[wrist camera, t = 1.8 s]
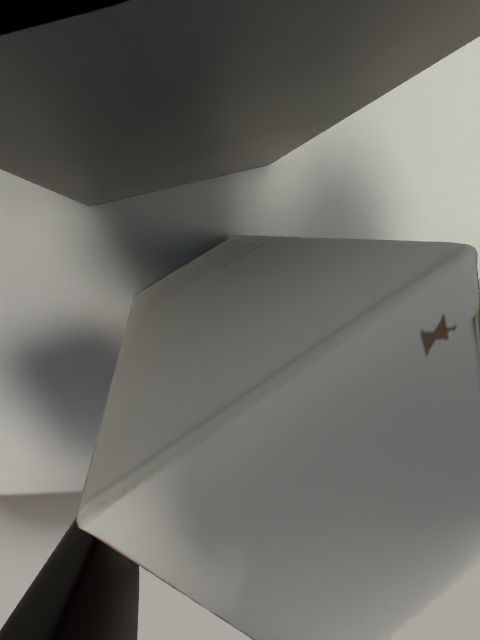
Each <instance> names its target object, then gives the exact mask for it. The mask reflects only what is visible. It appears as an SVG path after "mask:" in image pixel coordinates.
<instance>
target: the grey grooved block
mask: <svg viewBox="0 0 480 640" xmlns="http://www.w3.org/2000/svg"><path fill="white" fill-rule="evenodd" d="M479 36H480V0H0V169H1V170H4V171H6V172H9V173H11V174H13V175H16V176H18V177H20V178H23V179H25V180H28V181H30V182H32V183H35V184H37V185H40V186H42V187H44V188H47V189H49V190H51V191H54V192H56V193H59V194H61V195H63V196H66V197H68V198H71V199H73V200H75V201H78V202H80V203H82V204H85V205H87V206H92V205H96V204H101V203H105V202H110V201H114V200H118V199H123V198H127V197H131V196H136V195H140V194H144V193H149V192H153V191H157V190H162V189H166V188H170V187H175V186H179V185H183V184H188V183H192V182H197V181H201V180H205V179H210V178H214V177H218V176H223V175H227V174H231V173H236V172H240V171H244V170H249V169H253V168H257V167H262V166H266V165H270V164H271V163H273V162H274V161H276V160H278V159H279V158H281V157H283V156H284V155H286V154H288V153H289V152H291V151H292V150H294V149H296V148H297V147H299V146H301V145H302V144H304V143H306V142H307V141H309V140H310V139H312V138H314V137H315V136H317V135H319V134H320V133H322V132H324V131H325V130H327V129H328V128H330V127H332V126H333V125H335V124H337V123H338V122H340V121H341V120H343V119H345V118H346V117H348V116H350V115H351V114H353V113H355V112H356V111H358V110H359V109H361V108H363V107H364V106H366V105H368V104H369V103H371V102H373V101H374V100H376V99H377V98H379V97H381V96H382V95H384V94H386V93H387V92H389V91H391V90H392V89H394V88H395V87H397V86H399V85H400V84H402V83H404V82H405V81H407V80H409V79H410V78H412V77H413V76H415V75H417V74H418V73H420V72H422V71H423V70H425V69H427V68H428V67H430V66H431V65H433V64H435V63H436V62H438V61H440V60H441V59H443V58H445V57H446V56H448V55H449V54H451V53H453V52H454V51H456V50H458V49H459V48H461V47H463V46H464V45H466V44H467V43H469V42H471V41H472V40H474V39H476V38H477V37H479Z"/></svg>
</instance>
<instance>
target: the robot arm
mask: <svg viewBox="0 0 480 640" xmlns="http://www.w3.org/2000/svg"><path fill="white" fill-rule="evenodd" d="M76 520H77V517H76V519H75V520H74V522H73V523H72V525H71V526H70V528H69V529H68V531H67V532H66V533H65V535H64V537H63V538H62V539H61V541H60V542H59V544H58V546H57V547H56V548H55V550H54V551H53V553H52V554H51V556H50V558H49V559H48V560H47V562H46V563H45V565H44V566H43V568H42V569H41V571H40V572H39V574H38V575H37V577H36V578H35V580H34V581H33V583H32V584H31V586H30V587H29V589H28V590H27V592H26V593H25V595H24V596H23V598H22V599H21V601H20V602H19V604H18V605H17V607H16V608H15V609H14V611H13V613H12V614H11V615H10V617H9V618H8V620H7V621H6V623H5V624H4V626H3V627H2V629H1V630H0V640H137V630H138V603H139V565H138V564H136V563H135V562H133V561H132V560H130V559H129V558H127V557H126V556H124V555H122V554H121V553H119V552H118V551H116V550H115V549H113V548H112V547H110V546H109V545H107V544H106V543H104V542H102V541H101V540H99V539H97V538H96V537H94V536H93V535H91V534H89V533H87V532H85V531H83V530H81V529H80V528H79V527H78V524H77V521H76Z"/></svg>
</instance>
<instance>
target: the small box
mask: <svg viewBox="0 0 480 640" xmlns="http://www.w3.org/2000/svg"><path fill="white" fill-rule="evenodd" d="M479 300H480V293H479V283H478V272H477V251H476V249H475V248H474V247H472V246H470V245H467V244H459V243H450V242H421V241H395V240H366V239H339V238H300V237H270V236H249V235H234V236H232V237H230V238H229V239H227V240H226V241H224V242H222V243H221V244H219V245H217V246H216V247H214V248H212V249H211V250H209V251H207V252H206V253H204V254H202V255H201V256H199V257H197V258H196V259H194V260H192V261H191V262H189V263H187V264H186V265H184V266H182V267H181V268H179V269H177V270H176V271H174V272H172V273H171V274H169V275H167V276H166V277H164V278H162V279H161V280H159V281H158V282H156V283H154V284H153V285H151V286H149V287H148V288H146V289H144V290H143V291H141V292H139V293H138V294H136V295H135V296H134V300H133V303H132V307H131V311H130V315H129V318H128V322H127V326H126V329H125V333H124V337H123V340H122V344H121V348H120V352H119V356H118V359H117V363H116V367H115V371H114V374H113V378H112V382H111V385H110V389H109V393H108V397H107V400H106V404H105V408H104V412H103V416H102V420H101V424H100V429H99V432H98V436H97V439H96V443H95V446H94V450H93V454H92V458H91V462H90V466H89V470H88V474H87V477H86V481H85V485H84V489H83V493H82V497H81V501H80V505H79V509H78V513H77V520H76V521H77V524H78V527H79V528H80V529H81V530H83V531H85V532H87V533H89V534H91V535H93V536H94V537H96V538H97V539H99V540H101V541H102V542H104V543H106V544H107V545H109V546H110V547H112V548H113V549H115V550H116V551H118V552H119V553H121V554H122V555H124V556H126V557H127V558H129V559H130V560H132V561H133V562H135V563H136V564H138V565H139V566H141V567H143V568H144V569H145V570H147V571H149V572H150V573H152V574H153V575H155V576H156V577H158V578H159V579H161V580H162V581H164V582H166V583H167V584H169V585H170V586H172V587H173V588H174V589H176V590H178V591H179V592H181V593H182V594H184V595H186V596H187V597H189V598H190V599H192V600H193V601H195V602H196V603H198V604H199V605H201V606H203V607H205V608H206V609H208V610H209V611H210V612H212V613H213V614H215V615H216V616H218V617H219V618H221V619H222V620H224V621H225V622H227V623H229V624H230V625H232V626H233V627H235V628H236V629H238V630H239V631H241V632H243V633H244V634H246V635H247V636H248V637H250V638H251V639H253V640H390V639H391V638H392V637H393V636H394V635H395V634H397V633H398V632H399V631H400V630H401V629H403V628H404V627H405V626H406V625H408V624H409V623H410V622H411V621H412V620H414V619H415V618H416V617H417V616H419V615H420V614H421V613H422V612H424V611H425V610H426V609H427V608H428V607H430V606H431V605H432V604H433V603H435V602H436V601H437V600H438V599H439V598H441V597H442V596H443V595H444V594H446V593H447V592H448V591H449V590H450V589H451V588H453V587H454V586H455V585H456V584H458V583H459V582H460V581H461V580H462V579H464V578H465V577H466V576H467V575H468V574H470V573H471V572H472V571H473V570H474V569H476V568H477V567H478V566H479V565H480V335H479V324H478V310H479Z"/></svg>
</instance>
